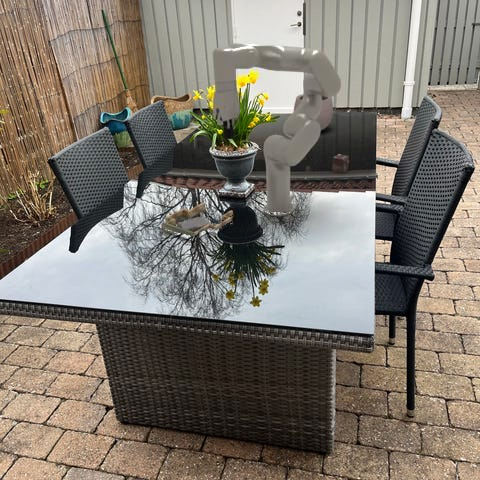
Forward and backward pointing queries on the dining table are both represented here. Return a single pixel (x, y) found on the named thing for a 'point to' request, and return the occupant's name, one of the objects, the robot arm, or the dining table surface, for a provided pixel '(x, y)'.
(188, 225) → the stone block
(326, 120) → the plant pot
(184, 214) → the box
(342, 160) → the box
